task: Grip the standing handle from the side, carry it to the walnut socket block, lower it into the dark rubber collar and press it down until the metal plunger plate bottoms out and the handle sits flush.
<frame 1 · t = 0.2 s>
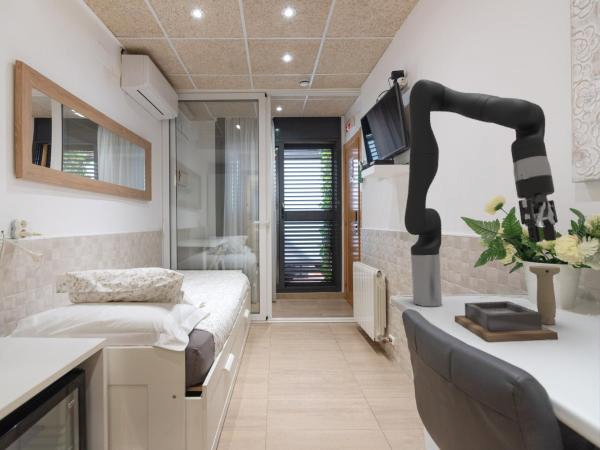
hand: (543, 241, 77), 22 cm above the table, tool pointing down, fingers open, 8 cm apart
socket base: (501, 329, 80), on the table
plunger: (500, 314, 80), point 4 cm above the table, slide at 2.0 cm
handle: (547, 324, 83), on the table
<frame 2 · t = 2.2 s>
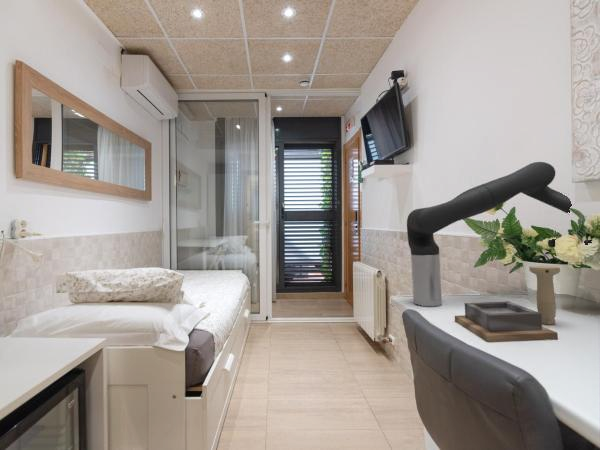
hand: (567, 244, 87), 20 cm above the table, tool horizontal, fingers open, 8 cm apart
nothing on the table moved.
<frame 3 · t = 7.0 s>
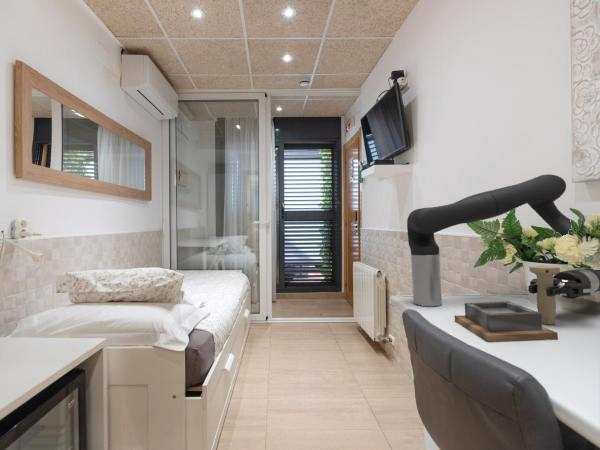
hand: (539, 290, 81), 9 cm above the table, tool horizontal, fingers closed on handle, 3 cm apart
handle: (547, 324, 83), on the table, touching gripper
everything else where it was.
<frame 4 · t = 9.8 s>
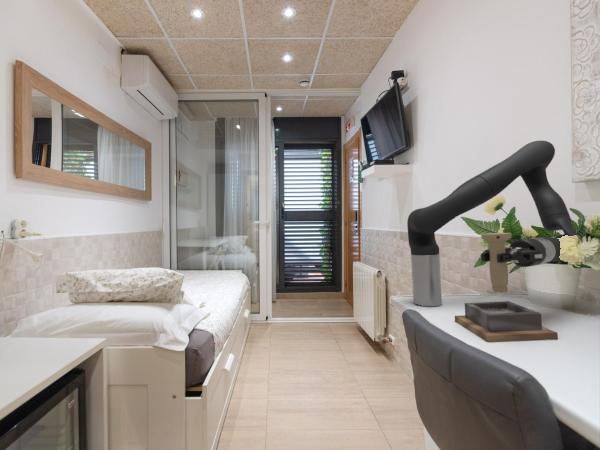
hand: (490, 258, 79), 19 cm above the table, tool horizontal, fingers closed on handle, 3 cm apart
handle: (500, 292, 80), point 9 cm above the table, touching gripper
everything else where it was.
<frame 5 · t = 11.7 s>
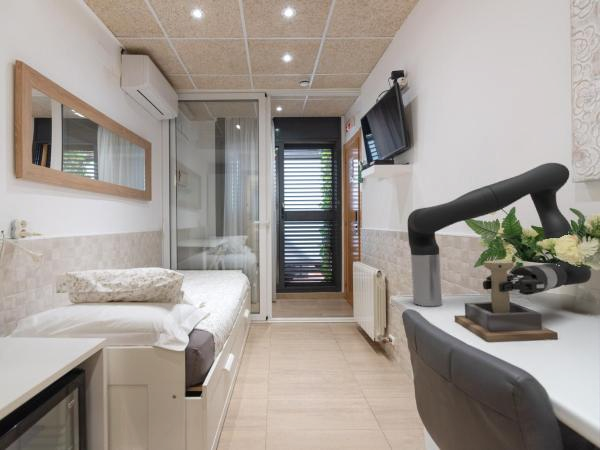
hand: (492, 286, 79), 11 cm above the table, tool horizontal, fingers closed on handle, 3 cm apart
plunger: (500, 321, 80), point 2 cm above the table, slide at 0.0 cm, touching handle, socket base
handle: (501, 320, 80), point 2 cm above the table, touching gripper, plunger
when the fingers open (11 cm above the table, at t = 12.7 s): handle stays where it is, resting on plunger.
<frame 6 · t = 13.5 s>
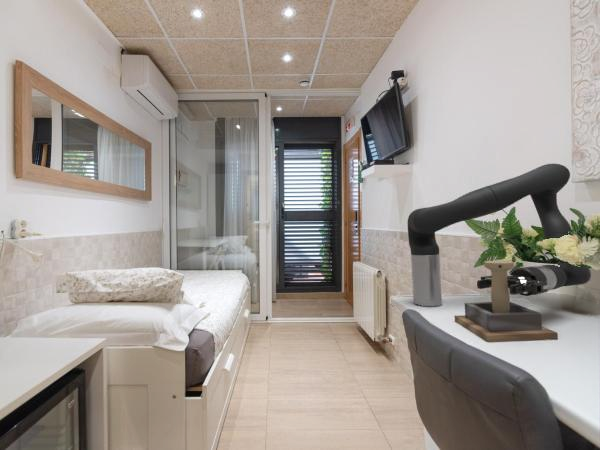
hand: (494, 287, 79), 11 cm above the table, tool horizontal, fingers open, 8 cm apart
handle: (501, 320, 80), point 2 cm above the table, touching plunger
everything else where it was.
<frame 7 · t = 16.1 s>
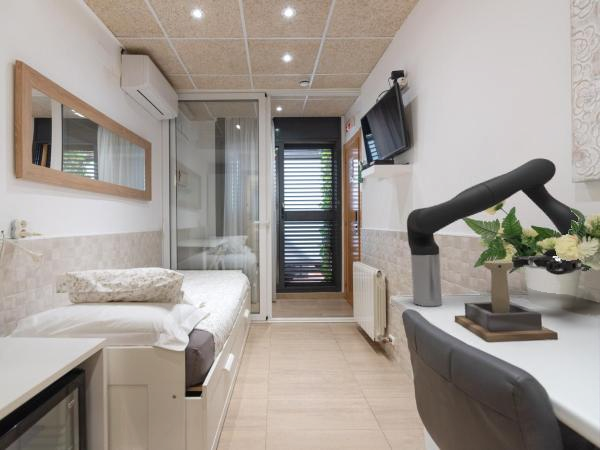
hand: (530, 265, 85), 15 cm above the table, tool horizontal, fingers open, 8 cm apart
nothing on the table moved.
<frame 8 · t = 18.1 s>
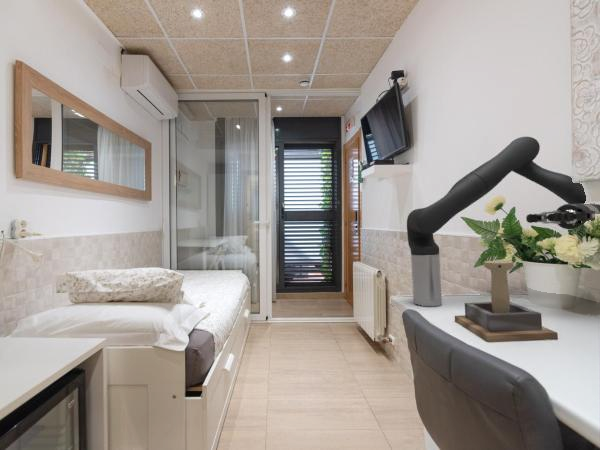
hand: (544, 217, 86), 28 cm above the table, tool horizontal, fingers open, 8 cm apart
nothing on the table moved.
at the end: plunger slide at 0.0 cm; handle 0.2 cm off-centre on the socket base, point 2.1 cm above the socket base's base; handle tilted 0° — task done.
